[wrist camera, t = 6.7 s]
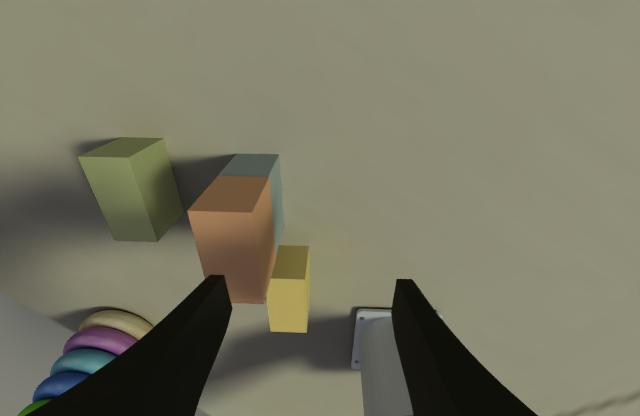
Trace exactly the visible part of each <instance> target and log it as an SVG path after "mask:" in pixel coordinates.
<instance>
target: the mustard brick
mask: <svg viewBox="0 0 640 416" xmlns="http://www.w3.org/2000/svg"><path fill="white" fill-rule="evenodd" d="M266 300H267V308H268V315H269V323H270V331H272V332H296V333H307V323H308V312H309V302H310V271H309V246H286V245H279V246H278V250H277V254H276V260H275V264H274V268H273V272H272V275H271V279H270V283H269V287H268V290H267V294H266Z"/></svg>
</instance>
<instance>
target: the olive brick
mask: <svg viewBox="0 0 640 416" xmlns="http://www.w3.org/2000/svg"><path fill="white" fill-rule="evenodd" d="M78 159H79V161H80V163H81V166H82V168H83V170H84V172H85V175H86V177H87V179H88V181H89V184H90V186H91V188H92V190H93V193H94V195H95V197H96V199H97V202H98V204H99V206H100V208H101V211H102V213H103V215H104V217H105V220H106V222H107V224H108V226H109V229H110V231H111V233H112V235H113V238H114V240H118V241H147V242H158V241H159V240H160V239H161V237H162V236H163V235H164V234H165V233H166V232H167V231H168V230H169V229H170V227H171V226H172V225H173V224H174V223H175V222H176V221H177V220H178V219H179V217H180V216H181V215H182V214H183V213H184V211H183V207H182V203H181V200H180V196H179V192H178V189H177V185H176V181H175V178H174V174H173V171H172V167H171V163H170V160H169V156H168V152H167V149H166V145H165V141H164V138H127V137H121V138H119V139H117V140H114V141H112V142H110V143H107V144H105V145H103V146H101V147H98V148H96V149H94V150H91V151H89V152H87V153H85V154H82V155H80V156H78Z"/></svg>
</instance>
